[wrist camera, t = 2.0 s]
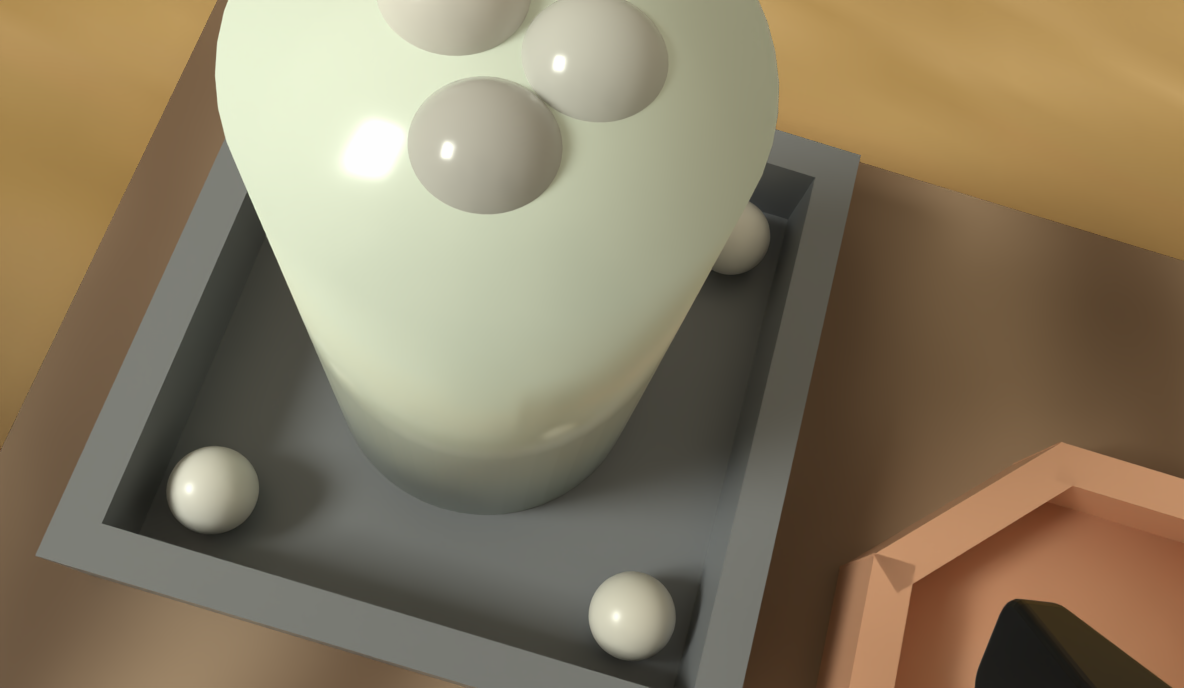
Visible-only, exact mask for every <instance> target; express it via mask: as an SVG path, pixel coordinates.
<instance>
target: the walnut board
mask: <svg viewBox="0 0 1184 688" xmlns="http://www.w3.org/2000/svg"><path fill="white" fill-rule="evenodd" d="M227 2H228V0H217V2H216V4H215V7H214V9H213V11H212V13H211V15H210V17H209V19H208V21H207V23H206V25H205V27H204V29H203V31H202V33H201V36H200V38H199V40H198V42H197V44H196V46H195V48H194V50H193V52H192V54H191V56H190V58H189V60H188V63H187V65H186V67H185V69H184V71H183V73H182V75H181V77H180V79H179V81H178V83H177V85H176V87H175V89H174V92H173V94H172V96H171V98H170V100H169V102H168V104H167V106H166V108H165V110H164V112H163V114H162V116H161V119H160V121H159V123H158V125H157V127H156V129H155V131H154V133H153V135H152V137H151V139H150V141H149V143H148V145H147V148H146V150H145V152H144V154H143V156H142V158H141V160H140V162H139V164H138V166H137V168H136V170H135V172H134V175H133V177H132V179H131V181H130V183H129V185H128V187H127V189H126V191H125V193H124V195H123V197H122V199H121V201H120V204H119V206H118V208H117V210H116V212H115V214H114V216H113V218H112V220H111V222H110V224H109V226H108V228H107V231H106V233H105V235H104V237H103V239H102V241H101V243H100V245H99V247H98V249H97V251H96V253H95V255H94V257H93V260H92V262H91V264H90V266H89V268H88V270H87V272H86V274H85V276H84V278H83V280H82V282H81V284H80V287H79V289H78V291H77V293H76V295H75V297H74V299H73V301H72V303H71V305H70V307H69V309H68V311H67V313H66V316H65V318H64V320H63V322H62V324H61V326H60V328H59V330H58V332H57V334H56V336H55V338H54V340H53V343H52V345H51V347H50V349H49V351H48V353H47V355H46V357H45V359H44V361H43V363H42V365H41V367H40V369H39V372H38V374H37V376H36V378H35V380H34V382H33V384H32V386H31V388H30V390H29V392H28V394H27V396H26V399H25V401H24V403H23V405H22V407H21V409H20V411H19V413H18V415H17V417H16V419H15V421H14V423H13V425H12V428H11V430H10V432H9V434H8V436H7V438H6V440H5V442H4V444H3V446H2V448H1V450H0V688H466V687H463V686H459V685H456V684H453V683H449V682H446V681H443V680H439V679H436V678H433V677H429V676H426V675H423V674H419V673H416V672H413V671H409V670H406V669H403V668H399V667H396V666H393V665H389V664H386V663H383V662H379V661H376V660H373V659H369V658H366V657H363V656H359V655H356V654H353V653H349V652H346V651H343V650H339V649H336V648H333V647H329V646H326V645H322V644H319V643H316V642H312V641H309V640H306V639H302V638H299V637H296V636H292V635H289V634H286V633H282V632H279V631H276V630H272V629H269V628H266V627H262V626H259V625H256V624H252V623H249V622H246V621H242V620H239V619H236V618H232V617H229V616H226V615H222V614H219V613H216V612H212V611H209V610H206V609H202V608H199V607H196V606H192V605H189V604H185V603H182V602H179V601H175V600H172V599H169V598H165V597H162V596H159V595H155V594H152V593H149V592H145V591H142V590H139V589H135V588H132V587H129V586H125V585H122V584H119V583H115V582H112V581H109V580H105V579H102V578H99V577H95V576H92V575H89V574H86V573H83V572H80V571H77V570H74V569H71V568H69V567H66V566H63V565H60V564H57V563H54V562H52V561H49V560H46V559H43V558H40V557H37V556H35V555H36V553H37V550H38V548H39V546H40V544H41V542H42V539H43V537H44V535H45V533H46V531H47V528H48V526H49V524H50V522H51V520H52V517H53V515H54V513H55V511H56V509H57V506H58V504H59V502H60V500H61V498H62V495H63V493H64V491H65V489H66V487H67V484H68V482H69V480H70V478H71V476H72V473H73V471H74V469H75V467H76V465H77V462H78V460H79V458H80V456H81V454H82V451H83V449H84V447H85V445H86V443H87V441H88V438H89V436H90V434H91V432H92V430H93V427H94V425H95V423H96V421H97V419H98V416H99V414H100V412H101V410H102V408H103V405H104V403H105V401H106V399H107V397H108V394H109V392H110V390H111V388H112V386H113V383H114V381H115V379H116V377H117V375H118V372H119V370H120V368H121V366H122V364H123V361H124V359H125V357H126V355H127V353H128V350H129V348H130V346H131V344H132V342H133V339H134V337H135V335H136V333H137V331H138V328H139V326H140V324H141V322H142V320H143V317H144V315H145V313H146V311H147V309H148V306H149V304H150V302H151V300H152V298H153V295H154V293H155V291H156V289H157V287H158V285H159V282H160V280H161V278H162V276H163V274H164V271H165V269H166V267H167V265H168V263H169V260H170V258H171V256H172V254H173V252H174V249H175V247H176V245H177V243H178V241H179V238H180V236H181V234H182V232H183V230H184V227H185V225H186V223H187V221H188V219H189V216H190V214H191V212H192V210H193V208H194V205H195V203H196V201H197V199H198V197H199V194H200V192H201V190H202V188H203V186H204V183H205V181H206V179H207V177H208V175H209V172H210V170H211V168H212V166H213V164H214V161H215V159H216V157H217V155H218V153H219V150H220V148H221V146H222V144H223V142H224V139H225V134H224V130H223V126H222V122H221V118H220V114H219V110H218V102H217V91H216V80H215V68H216V52H217V41H218V36H219V32H220V27H221V23H222V18H223V14H224V10H225V7H226V5H227ZM1059 442H1063V443H1066V444H1069V445H1073V446H1076V447H1079V448H1083V449H1086V450H1089V451H1092V452H1096V453H1099V454H1102V455H1106V456H1109V457H1112V458H1115V459H1119V460H1122V461H1125V462H1129V463H1132V464H1135V465H1139V466H1142V467H1145V468H1148V469H1152V470H1155V471H1158V472H1162V473H1165V474H1168V475H1172V476H1175V477H1178V478H1181V479H1184V261H1182V260H1179V259H1175V258H1172V257H1169V256H1166V255H1162V254H1159V253H1156V252H1153V251H1149V250H1146V249H1143V248H1139V247H1136V246H1133V245H1130V244H1126V243H1123V242H1120V241H1117V240H1113V239H1110V238H1107V237H1103V236H1100V235H1097V234H1094V233H1090V232H1087V231H1084V230H1081V229H1077V228H1074V227H1071V226H1067V225H1064V224H1061V223H1058V222H1054V221H1051V220H1048V219H1045V218H1041V217H1038V216H1035V215H1031V214H1028V213H1025V212H1022V211H1018V210H1015V209H1012V208H1008V207H1005V206H1002V205H999V204H995V203H992V202H989V201H986V200H982V199H979V198H976V197H972V196H969V195H966V194H963V193H959V192H956V191H953V190H950V189H946V188H943V187H940V186H936V185H933V184H930V183H927V182H923V181H920V180H917V179H914V178H910V177H907V176H904V175H900V174H897V173H894V172H891V171H887V170H884V169H881V168H878V167H874V166H871V165H868V164H864V163H861V162H859V165H858V170H857V174H856V179H855V183H854V188H853V192H852V197H851V201H850V206H849V210H848V215H847V219H846V224H845V228H844V233H843V237H842V242H841V246H840V251H839V255H838V260H837V264H836V269H835V273H834V278H833V282H832V287H831V291H830V296H829V300H828V305H827V309H826V314H825V318H824V323H823V327H822V332H821V336H820V341H819V345H818V350H817V354H816V359H815V363H814V368H813V372H812V377H811V381H810V386H809V390H808V395H807V399H806V404H805V408H804V413H803V417H802V422H801V426H800V431H799V435H798V440H797V444H796V449H795V453H794V458H793V462H792V467H791V471H790V476H789V480H788V485H787V489H786V494H785V498H784V503H783V507H782V512H781V516H780V521H779V525H778V530H777V534H776V539H775V543H774V548H773V552H772V557H771V561H770V566H769V570H768V575H767V579H766V584H765V588H764V593H763V597H762V602H761V606H760V611H759V615H758V620H757V624H756V629H755V633H754V638H753V642H752V647H751V651H750V656H749V660H748V665H747V669H746V674H745V678H744V683H743V687H742V688H816V685H817V680H818V675H819V670H820V665H821V660H822V655H823V650H824V645H825V640H826V635H827V630H828V625H829V620H830V615H831V610H832V605H833V600H834V595H835V590H836V585H837V580H838V575H839V570H840V569H839V568H840V566H842V565H845V564H846V563H848V562H850V561H851V560H853V559H855V558H856V557H858V556H860V555H861V554H863V553H865V552H867V551H868V550H870V549H872V548H873V547H875V546H877V545H878V544H880V543H882V542H883V541H885V540H887V539H888V538H890V537H892V536H893V535H895V534H897V533H898V532H900V531H902V530H903V529H905V528H907V527H909V526H910V525H912V524H914V523H915V522H917V521H919V520H920V519H922V518H924V517H925V516H927V515H929V514H930V513H932V512H934V511H935V510H937V509H939V508H940V507H942V506H944V505H945V504H947V503H949V502H951V501H952V500H954V499H956V498H957V497H959V496H961V495H962V494H964V493H966V492H967V491H969V490H971V489H972V488H974V487H976V486H977V485H979V484H981V483H982V482H984V481H986V480H988V479H989V478H991V477H993V476H994V475H996V474H998V473H999V472H1001V471H1003V470H1004V469H1006V468H1008V467H1009V466H1011V465H1013V463H1015V462H1017V461H1020V460H1022V459H1024V458H1026V457H1028V456H1031V455H1033V454H1035V453H1037V452H1039V451H1042V450H1044V449H1046V448H1048V447H1050V446H1053V445H1055V444H1057V443H1059Z"/></svg>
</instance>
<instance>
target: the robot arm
mask: <svg viewBox="0 0 1184 688" xmlns="http://www.w3.org/2000/svg"><path fill="white" fill-rule="evenodd" d="M975 688H1172V687H1171V686H1169V685H1168V684H1167V683H1165V682H1164V681H1163V680H1161V679H1160V678H1159V677H1157V676H1156V675H1155V674H1153V673H1152V672H1151V671H1149V670H1148V669H1147V668H1145V667H1144V666H1143V665H1141V664H1140V663H1139V662H1137V661H1136V660H1135V659H1133V658H1132V657H1131V656H1129V655H1128V654H1127V653H1125V652H1124V651H1123V650H1121V649H1120V648H1119V647H1117V646H1116V645H1115V644H1113V643H1112V642H1111V641H1109V640H1108V639H1107V638H1105V637H1104V636H1103V635H1101V634H1100V633H1099V632H1097V631H1096V630H1095V629H1093V628H1092V627H1091V626H1089V625H1088V624H1087V623H1085V622H1084V621H1083V620H1081V619H1080V618H1079V617H1077V616H1076V615H1075V614H1073V613H1072V612H1071V611H1069V610H1068V609H1066V608H1065V607H1063V606H1062V605H1059V604H1057V603H1052V602H1044V601H1036V600H1027V599H1014V600H1011V601H1009V602H1007V604H1006V605H1005V606H1004V607H1003V609H1002V611H1001V612H1000V614H999V617H998V619H997V622H996V624H995V627H994V629H993V632H992V634H991V637H990V639H989V642H988V644H987V647H986V649H985V652H984V654H983V657H982V659H981V662H980V664H979V667H978V670H977V673H976V678H975Z"/></svg>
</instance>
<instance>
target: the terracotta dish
mask: <svg viewBox="0 0 1184 688" xmlns="http://www.w3.org/2000/svg"><path fill="white" fill-rule="evenodd" d="M839 569H840V570H839V575H838V580H837V585H836V590H835V595H834V600H833V605H832V610H831V615H830V620H829V625H828V630H827V635H826V640H825V645H824V650H823V655H822V660H821V665H820V670H819V675H818V680H817V685H816V688H975V678H976V673H977V670H978V667H979V664H980V662H981V659H982V657H983V654H984V652H985V649H986V647H987V644H988V642H989V639H990V637H991V634H992V632H993V629H994V627H995V624H996V622H997V619H998V617H999V614H1000V612H1001V611H1002V609H1003V607H1004V606H1005V605H1006V604H1007V602H1009V601H1011V600H1014V599H1027V600H1036V601H1044V602H1052V603H1057V604H1059V605H1062V606H1063V607H1065V608H1066V609H1068V610H1069V611H1071V612H1072V613H1073V614H1075V615H1076V616H1077V617H1079V618H1080V619H1081V620H1083V621H1084V622H1085V623H1087V624H1088V625H1089V626H1091V627H1092V628H1093V629H1095V630H1096V631H1097V632H1099V633H1100V634H1101V635H1103V636H1104V637H1105V638H1107V639H1108V640H1109V641H1111V642H1112V643H1113V644H1115V645H1116V646H1117V647H1119V648H1120V649H1121V650H1123V651H1124V652H1125V653H1127V654H1128V655H1129V656H1131V657H1132V658H1133V659H1135V660H1136V661H1137V662H1139V663H1140V664H1141V665H1143V666H1144V667H1145V668H1147V669H1148V670H1149V671H1151V672H1152V673H1153V674H1155V675H1156V676H1157V677H1159V678H1160V679H1161V680H1163V681H1164V682H1165V683H1167V684H1168V685H1169V686H1171V687H1172V688H1184V479H1181V478H1178V477H1175V476H1172V475H1168V474H1165V473H1162V472H1158V471H1155V470H1152V469H1148V468H1145V467H1142V466H1139V465H1135V464H1132V463H1129V462H1125V461H1122V460H1119V459H1115V458H1112V457H1109V456H1106V455H1102V454H1099V453H1096V452H1092V451H1089V450H1086V449H1083V448H1079V447H1076V446H1073V445H1069V444H1066V443H1063V442H1059V443H1057V444H1055V445H1053V446H1050V447H1048V448H1046V449H1044V450H1042V451H1039V452H1037V453H1035V454H1033V455H1031V456H1028V457H1026V458H1024V459H1022V460H1020V461H1017V462H1015V463H1013V465H1011V466H1009V467H1008V468H1006V469H1004V470H1003V471H1001V472H999V473H998V474H996V475H994V476H993V477H991V478H989V479H988V480H986V481H984V482H982V483H981V484H979V485H977V486H976V487H974V488H972V489H971V490H969V491H967V492H966V493H964V494H962V495H961V496H959V497H957V498H956V499H954V500H952V501H951V502H949V503H947V504H945V505H944V506H942V507H940V508H939V509H937V510H935V511H934V512H932V513H930V514H929V515H927V516H925V517H924V518H922V519H920V520H919V521H917V522H915V523H914V524H912V525H910V526H909V527H907V528H905V529H903V530H902V531H900V532H898V533H897V534H895V535H893V536H892V537H890V538H888V539H887V540H885V541H883V542H882V543H880V544H878V545H877V546H875V547H873V548H872V549H870V550H868V551H867V552H865V553H863V554H861V555H860V556H858V557H856V558H855V559H853V560H851V561H850V562H848V563H846V564H845V565H842V566H840V568H839Z"/></svg>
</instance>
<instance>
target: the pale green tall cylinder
mask: <svg viewBox="0 0 1184 688" xmlns="http://www.w3.org/2000/svg"><path fill="white" fill-rule="evenodd" d="M215 80H216V91H217V102H218V110H219V114H220V118H221V122H222V126H223V130H224V134H225V138H226V142H227V144H228V146H229V149H230V151H231V154H232V156H233V158H234V161H235V163H236V165H237V168H238V170H239V173H240V175H241V177H242V180H243V182H244V184H245V187H246V189H247V191H248V194H249V196H250V198H251V201H252V203H253V205H254V208H255V210H256V212H257V215H258V217H259V219H260V222H261V224H262V226H263V229H264V231H265V233H266V236H267V238H268V240H269V243H270V245H271V247H272V250H273V252H274V254H275V257H276V259H277V261H278V264H279V266H280V268H281V271H282V273H283V275H284V278H285V280H286V282H287V285H288V287H289V289H290V292H291V294H292V296H293V299H294V301H295V303H296V306H297V308H298V310H299V313H300V315H301V317H302V320H303V322H304V324H305V327H306V329H307V331H308V334H309V336H310V338H311V341H312V343H313V345H314V348H315V350H316V352H317V355H318V357H319V359H320V362H321V364H322V366H323V369H324V371H325V373H326V376H327V378H328V380H329V383H330V385H331V387H332V390H333V392H334V394H335V397H336V399H337V401H338V404H339V406H340V408H341V411H342V413H343V415H344V418H345V420H346V422H347V424H348V427H349V429H350V431H351V434H352V436H353V437H354V439H355V441H356V442H357V444H358V446H359V447H360V449H361V451H362V452H363V453H364V455H365V456H366V457H367V458H368V460H369V461H370V462H371V463H372V465H373V466H374V467H375V468H376V469H377V470H378V471H379V472H380V473H381V474H382V475H383V476H385V477H386V478H387V479H388V480H389V481H390V482H392V483H393V484H394V485H396V486H397V487H399V488H400V489H401V490H403V491H404V492H406V493H408V494H410V495H411V496H413V497H415V498H417V499H419V500H421V501H423V502H425V503H428V504H431V505H433V506H436V507H439V508H441V509H446V510H450V511H454V512H459V513H465V514H476V515H498V514H507V513H513V512H519V511H524V510H527V509H530V508H534V507H537V506H540V505H543V504H545V503H547V502H549V501H552V500H554V499H556V498H558V497H560V496H562V495H563V494H565V493H567V492H568V491H570V490H571V489H573V488H575V487H576V486H577V485H579V484H580V483H581V482H582V481H584V480H585V479H586V478H587V477H588V476H590V475H591V474H592V473H593V472H594V471H595V470H596V468H597V467H598V466H599V465H600V464H601V463H602V462H603V461H604V460H605V458H606V457H607V456H608V454H609V453H610V451H611V450H612V448H613V447H614V446H615V444H616V442H617V440H618V439H619V437H620V435H621V433H622V431H623V430H624V428H625V426H626V424H627V422H628V420H629V419H630V417H631V415H632V413H633V411H634V409H635V408H636V406H637V404H638V402H639V400H640V399H641V397H642V395H643V393H644V391H645V389H646V388H647V386H648V384H649V382H650V380H651V379H652V377H653V375H654V373H655V371H656V369H657V368H658V366H659V364H660V362H661V360H662V359H663V357H664V355H665V353H666V351H667V349H668V348H669V346H670V344H671V342H672V340H673V338H674V337H675V335H676V333H677V331H678V329H679V328H680V326H681V324H682V322H683V320H684V318H685V317H686V315H687V313H688V311H689V309H690V308H691V306H692V304H693V302H694V300H695V298H696V297H697V295H698V293H699V291H700V289H701V287H702V286H703V284H704V282H705V280H706V278H707V277H708V275H709V273H710V271H711V269H712V267H713V266H714V264H715V262H716V260H717V258H718V257H719V255H720V253H721V251H722V249H723V247H724V246H725V244H726V242H727V240H728V238H729V236H730V235H731V233H732V231H733V229H734V227H735V226H736V224H737V222H738V220H739V218H740V216H741V215H742V213H743V211H744V209H745V207H746V206H747V204H748V202H749V200H750V198H751V196H752V194H753V192H754V190H755V188H756V186H757V184H758V182H759V180H760V178H761V176H762V174H763V171H764V168H765V165H766V163H767V160H768V157H769V154H770V151H771V148H772V145H773V139H774V134H775V128H776V122H777V117H778V98H779V79H778V70H777V62H776V54H775V49H774V45H773V41H772V38H771V34H770V30H769V26H768V23H767V20H766V17H765V15H764V13H763V10H762V8H761V5H760V3H759V1H758V0H228V2H227V5H226V7H225V10H224V14H223V18H222V23H221V27H220V32H219V36H218V41H217V52H216V68H215Z"/></svg>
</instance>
